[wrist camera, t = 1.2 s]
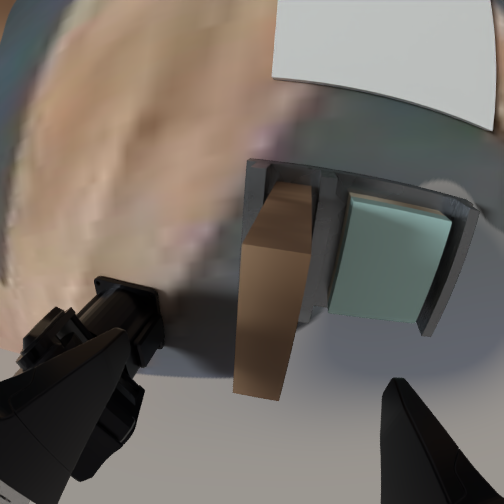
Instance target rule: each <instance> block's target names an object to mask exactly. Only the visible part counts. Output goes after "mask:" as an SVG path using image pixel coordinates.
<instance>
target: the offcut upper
mask: <svg viewBox="0 0 504 504" xmlns="http://www.w3.org/2000/svg"><path fill="white" fill-rule="evenodd" d="M451 224H452V221H451V220H449V219H448V218H447V217H446V216H443V215H439V214H435V213H430V212H426V211H422V210H417V209H413V208H408V207H403V206H399V205H394V204H389V203H384V202H379V201H374V200H368V199H363V198H357V197H352V196H351V201H350V206H349V211H348V216H347V222H346V227H345V231H344V236H343V241H342V246H341V250H340V255H339V259H338V264H337V268H336V272H335V276H334V280H333V284H332V289H331V292H330V296H329V300H328V313H331V314H339V315H346V316H354V317H362V318H370V319H379V320H387V321H396V322H406V323H415V322H416V320H417V318H418V315H419V313H420V311H421V308H422V306H423V304H424V301H425V299H426V296H427V294H428V292H429V289H430V286H431V284H432V281H433V279H434V276H435V273H436V271H437V268H438V265H439V262H440V259H441V256H442V253H443V250H444V247H445V244H446V241H447V238H448V234H449V231H450V228H451Z"/></svg>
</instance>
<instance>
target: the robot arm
mask: <svg viewBox="0 0 504 504" xmlns="http://www.w3.org/2000/svg"><path fill="white" fill-rule="evenodd" d="M94 284H95V289H96V293H97V295H96V296H95V297H94V298H93V299H92V300H91V301H90V302H89V303H88V304H87V305H86V306H85V307H84V308H83V309H82V310H81V311H80V312H79V313H78V314H77V315H76V314H75V311H74V310H73V309H72V307H70V308H69V309H68V310H66V311H64V310H62V309H60V308H58V307H55V308H53V309H52V310H51V311H50V312H49V313H48V314H47V315H46V316H45V317H44V318H43V319H42V320H40V321H39V322H38V323H37V324H36V325H35V327H34V328H33V329H32V330H31V331H30V332H29V333H28V334H27V335H26V336H25V337H24V338H23V349H22V351H21V352H20V353H21V355H20V357H19V358H18V359H17V361H16V363H17V364H18V365H19V366H20V369H19V370H18V371H17V373H16V374H15V375H14V376H13V377H11V378H9V379H6V380H4V381H1V382H0V504H28V503H29V502H30V500H31V501H32V502H34V503H36V504H58V501H59V499H60V497H61V495H62V493H63V491H64V488H65V486H66V484H67V482H68V480H69V478H70V476H72V477H73V478H74V479H76V480H77V481H79V482H81V481H84V480H87V479H89V478H92V477H93V476H94V474H95V473H96V472H97V470H98V469H99V468H100V466H101V465H102V464H103V463H104V462H105V460H106V459H108V458H109V457H110V456H111V455H112V454H113V453H114V452H116V451H117V450H119V449H120V448H121V447H122V446H123V444H125V443H126V442H127V440H128V439H129V438H130V437H131V435H132V434H133V432H134V430H135V427H136V423H137V419H138V415H139V411H140V407H141V404H142V400H143V396H144V393H145V390H144V389H143V388H142V387H141V386H140V385H138V384H137V383H136V382H135V381H134V380H133V377H134V376H135V374H136V373H137V371H138V369H139V368H140V367H141V368H145V367H146V366H147V364H148V363H149V361H150V360H151V358H152V356H153V355H154V353H155V352H156V350H157V349H162V348H163V347H164V337H165V336H164V329H163V322H162V316H161V314H160V309H159V300H158V294H157V292H156V291H155V290H153V289H150V288H145V287H141V286H137V285H133V284H128V283H124V282H120V281H116V280H112V279H108V278H104V277H100V276H98V277H97V278H95V279H94ZM150 294H151V295H152V296H151V295H150ZM458 448H459V447H458V446H457V445H456V443H455V442H454V441H453V439H452V438H451V437H450V435H449V434H448V433H447V431H446V430H445V429H444V427H443V426H442V425H441V424H440V422H439V421H438V420H437V419H436V417H435V416H434V415H433V414H432V412H431V411H430V410H429V408H428V407H427V406H426V405H425V403H424V402H423V401H422V400H421V398H420V397H419V396H418V395H417V393H416V392H415V391H414V389H413V388H412V387H411V386H410V385H409V383H408V382H407V381H406V380H405V379H404V378H392V379H391V381H390V382H389V384H388V386H387V387H386V389H385V391H384V392H383V396H382V409H381V430H380V449H381V450H380V451H381V504H504V498H503V497H502V496H500V495H499V494H498V493H497V492H496V491H495V490H494V489H493V488H492V487H491V486H490V484H489V483H488V482H487V481H486V480H485V479H484V478H483V477H482V476H481V475H480V473H479V472H478V471H477V470H476V469H475V468H474V466H473V465H472V464H471V463H470V461H469V460H468V459H467V458H466V456H465V455H464V454H463V452H462V451H461V450H460V449H458Z"/></svg>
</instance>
